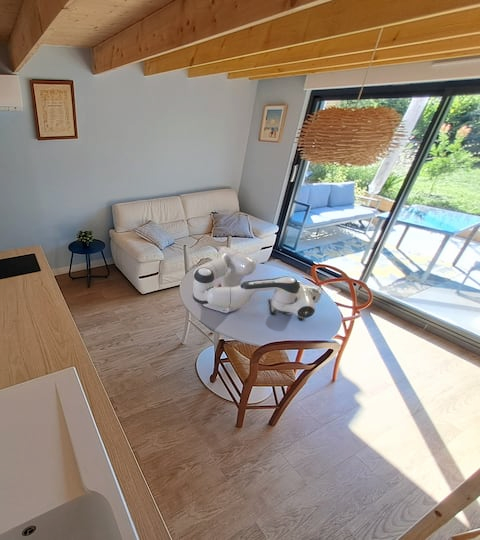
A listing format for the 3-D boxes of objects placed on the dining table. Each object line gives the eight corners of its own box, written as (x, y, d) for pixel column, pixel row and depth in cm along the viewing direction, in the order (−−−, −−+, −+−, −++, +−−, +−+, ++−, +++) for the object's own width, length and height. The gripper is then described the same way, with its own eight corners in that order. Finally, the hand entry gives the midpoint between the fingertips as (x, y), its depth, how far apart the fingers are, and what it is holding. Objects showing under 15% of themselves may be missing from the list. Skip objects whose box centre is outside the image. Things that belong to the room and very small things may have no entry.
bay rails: (271, 313, 180) (271, 312, 180) (269, 300, 193) (270, 298, 192) (302, 319, 175) (303, 318, 174) (298, 305, 187) (299, 304, 187)
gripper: (276, 295, 151) (274, 282, 162) (321, 303, 144) (315, 289, 156) (279, 285, 148) (277, 273, 159) (325, 293, 141) (319, 279, 152)
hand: (296, 281), depth 157 cm, fingers closed
